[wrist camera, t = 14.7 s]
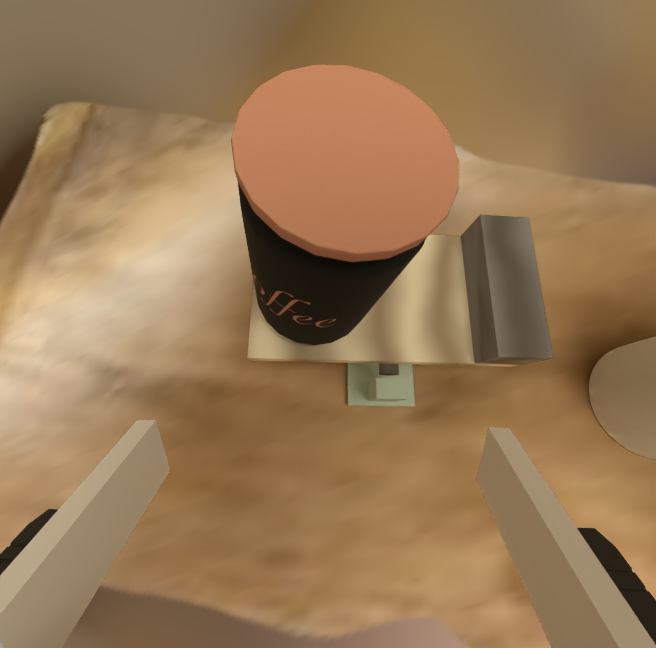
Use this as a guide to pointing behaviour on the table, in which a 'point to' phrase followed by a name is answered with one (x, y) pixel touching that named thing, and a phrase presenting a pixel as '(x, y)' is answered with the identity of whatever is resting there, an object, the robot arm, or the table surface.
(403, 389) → the seesaw stand
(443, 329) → the seesaw plank
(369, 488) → the table surface
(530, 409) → the table surface
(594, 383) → the utensil holder
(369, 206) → the coffee jar
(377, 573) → the table surface
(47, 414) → the table surface
